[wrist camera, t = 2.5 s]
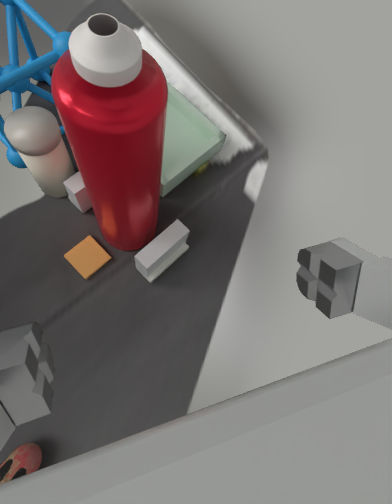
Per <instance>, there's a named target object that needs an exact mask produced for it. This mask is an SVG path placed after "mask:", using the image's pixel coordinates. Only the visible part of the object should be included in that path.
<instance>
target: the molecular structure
mask: <svg viewBox="0 0 392 504" xmlns="http://www.w3.org/2000/svg"><path fill="white" fill-rule="evenodd" d="M0 2H1V3H2V4H3V5H4V6H5V8H6V22H7V34H8V35H7V36H8V49H9V62H10V64H9V65H6V66H4V67H3V68H2V67H0V94H1V93H3V92H5V91H7V90H9V91H11V92H12V104H13V112H14V111H15V110H17V109H19V108H22V105H21V93H24V92H25V91H27V90H28V91H30V92H32V93H34V94H36V95H38V96H40V97H42V98H44V99H46V100H48V101H49V102H51V103H53V104H55V103H54V100H53V97H52V94H51V93H49V92H47V91H45V90H43V89H41V88H40V87H38V86H36V85H34V84H32V83H30V80H29V78H31V77H32V78H33V79H34V80H36V81H46V82H47V83H48V84H49V85H50V86H51V76H50V67H49V66H50V65H52V64H54V63H55V62H57V61H58V59H59V58H60V57H61V56H62V54H63V53H64V52H65V51H67V50H68V49H69V38H70V36H71V33H70V32H65V31H63V32H60V33H58V32H57V31H56V30H55V29H54V28H53V27H52V26H51V25H50V24H49V23H48V22H47V21H45V19H44V18H42V17H41V16H40V15H39V14H38V13H37V12H36V11H35V10H34V9H33V8H32V7H31V6H30V5H29V4H28V3H27V2H26V1H25V0H0ZM21 10H23V11H24V12H25V13H26V14H27V15H28V16H29V17H30V18H31V19H32V20H33V21H34V22H35V23H36V24H37V25H38V26H39V27H40V28H41V29H42V30H43V31H44V32H45V33H46V34H47V35H48V36H49V37H50V38H51V39H52V40H53V51H51V52H49V53H47V54H45V55H43V56H41V57H38V56H37V54H36V51H35V48H34V45H33V43H32V40H31V37H30V34H29V32H28V29H27V26H26V23H25V21H24V18H23V15H22V12H21ZM16 23H17V25H18V28H19V30H20V33H21V35H22V38H23V40H24V43H25V46H26V48H27V51H28V53H29V56H30V58H29V59H28V61H27V63H26V65H24V66H22V67H19V59H18V44H17V28H16ZM4 123H5V122H4V120H3V118H2V117H1V115H0V140H1V141H2V142H3V143H4V144H5V145H6V146H7V147H8V150H7V159H8V160H9V162H10V163H11V164H12V165H13V166H15V167H18V168H27V166H26V164H25V163H24V161H23V159H22V158H21V156H20V155H19V153H18V151H17V150H16V149H15V148H14V147H13V146H12V145H11V143H10V141H9V140H8V138H7V137H6V135H5V132H4ZM60 130H61V136H62V135H63V134H65V130H64V128H63V125H62V126H60Z"/></svg>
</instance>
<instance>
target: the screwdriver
mask: <svg viewBox="0 0 392 504" xmlns="http://www.w3.org/2000/svg"><path fill="white" fill-rule="evenodd" d="M41 461H42V451H41V449H40V447H39V446H38V445H37V444H35V443H26V444H23V445H21V446H19V447H18V448H16V449H15V450H14V451H13V452H12V453H11V454H10V455H9V456H8V458H7V459H6V460H5V461H4V462H3V463H2V464H1V466H0V484H3V483H6V482H8V481H11V480H14V479H16V478H19V477H22V476H24V475H27V474H30V473H32V472H35V471H38V469H39V467H40V465H41Z"/></svg>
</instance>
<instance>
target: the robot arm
mask: <svg viewBox="0 0 392 504" xmlns="http://www.w3.org/2000/svg"><path fill="white" fill-rule="evenodd" d="M298 262H299V264H300V265H301V267H300V268H299V270H298V272H297V284H298V287H299V290H300V291H301V293H302V294H303V295H304V296H305V297H306V298H307V299H310V300H313V301H316V307H317V308H318V309H319V310H320V311H321V312H322V313H323V314H325V315H326V316H327V317H328V318H329V319H331V318H335V317H338V316H341V315H344V314H348V313H351V312H353V314H356V315H358V316H361V317H363V318H365V319H368V320H370V321H373V322H375V323H377V324H380V325H382V326H385V327H387V328H390V329H392V258H389V257H380V258H379V257H377V256H376V255H374V254H372V253H370V252H368V251H366V250H365V249H363V248H361V247H359V246H357V245H356V244H354V243H352V242H350V241H348V240H347V239H345V238H337V239H334V240H331V241H328V242H325V243H322V244H318V245H315V246H312V247H308V248H305V249H301V250H300V251H299V253H298ZM42 335H43V332H42V330H41V328H40V326H39V324H38V323H37V322H31V323H27V324H23V325H19V326H15V327H11V328H7V329H3V330H0V451H1V450H2V448H3V447H4V445H5V444H6V442H7V441H8V439H9V438H10V436H11V435H12V433H13V431H14V430H15V426H18V425H20V424H23V423H26V422H29V421H31V420H34V419H37V418H39V417H42V416H45V415H48V414H50V413H51V408H52V397H53V391H52V389H51V386H50V383H51V382H52V380H53V379H54V372H55V368H54V360H53V356H52V353H51V350H50V348H49V345H48V344H46V343H44V342H42ZM0 504H392V338H391V339H388V340H385V341H383V342H380V343H377V344H375V345H372V346H369V347H367V348H364V349H361V350H359V351H356V352H353V353H350V354H348V355H345V356H343V357H340V358H337V359H334V360H332V361H329V362H326V363H324V364H321V365H318V366H316V367H313V368H310V369H307V370H305V371H302V372H299V373H297V374H294V375H291V376H289V377H286V378H283V379H281V380H278V381H275V382H273V383H270V384H267V385H265V386H262V387H259V388H257V389H254V390H251V391H249V392H246V393H244V394H241V395H238V396H235V397H233V398H230V399H227V400H225V401H222V402H219V403H217V404H214V405H211V406H209V407H206V408H203V409H201V410H198V411H196V412H193V413H190V414H187V415H185V416H182V417H179V418H177V419H174V420H171V421H169V422H166V423H163V424H161V425H158V426H155V427H153V428H150V429H147V430H145V431H142V432H139V433H137V434H134V435H131V436H129V437H126V438H123V439H120V440H118V441H115V442H112V443H110V444H107V445H104V446H102V447H99V448H96V449H94V450H91V451H88V452H86V453H83V454H80V455H78V456H75V457H72V458H70V459H67V460H64V461H62V462H59V463H56V464H54V465H51V466H48V467H46V468H43V469H40V470H38V471H35V472H32V473H30V474H27V475H24V476H22V477H19V478H16V479H14V480H11V481H8V482H6V483H3V484H0Z"/></svg>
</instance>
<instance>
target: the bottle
mask: <svg viewBox="0 0 392 504" xmlns="http://www.w3.org/2000/svg"><path fill="white" fill-rule="evenodd" d="M51 94H52V97H53V100H54V103H55V106H56V108H57V111H58V114H59V117H60V119H61V122H62V125H63V128H64V130H65V133H66V136H67V139H68V141H69V144H70V147H71V150H72V152H73V155H74V158H75V161H76V163H77V166H78V169H79V172H80V174H81V177H82V180H83V183H84V185H85V188H86V191H87V194H88V196H89V199H90V202H91V205H92V208H93V210H94V213H95V216H96V219H97V221H98V224H99V227H100V230H101V232H102V235H103V237H104V238H105V240H106V241H107V242H108V243H109V244H110V245H112V246H113V247H115V248H117V249H120V250H124V251H132V250H137V249H140V248H142V247H144V246H146V245H147V244H148V243H149V242H150V241H151V240H152V239H153V237H154V235H155V233H156V230H157V220H158V208H159V196H160V185H161V173H162V161H163V149H164V138H165V126H166V114H167V103H168V86H167V82H166V78H165V76H164V73H163V71H162V69H161V67H160V66H159V65H158V63H157V62H156V60H155V59H154V58H153V57H152V56H151V55H150V54H149V53H147V52H146V51H145V50H143V49H142V46H141V42H140V40H139V38H138V36H137V35H136V33H135V32H134V31H133V30H132V29H130V28H129V27H127V26H126V25H124V24H122V23H120V22H118V20H117V19H115V18H114V17H113V16H111V15H108V14H101V13H100V14H95V15H92V16H91V17H89V19H88V20H87V21H86V22H84V23H82V24H80V25H79V26H78V27H76V28H75V29H74V31H73V32H72V33H71V36H70V38H69V49H68V50H67V51H65V52H64V53H63V54H62V56H61V57H60V58H59V59H58V61H57V63H56V65H55V67H54V69H53V72H52V77H51Z"/></svg>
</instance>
